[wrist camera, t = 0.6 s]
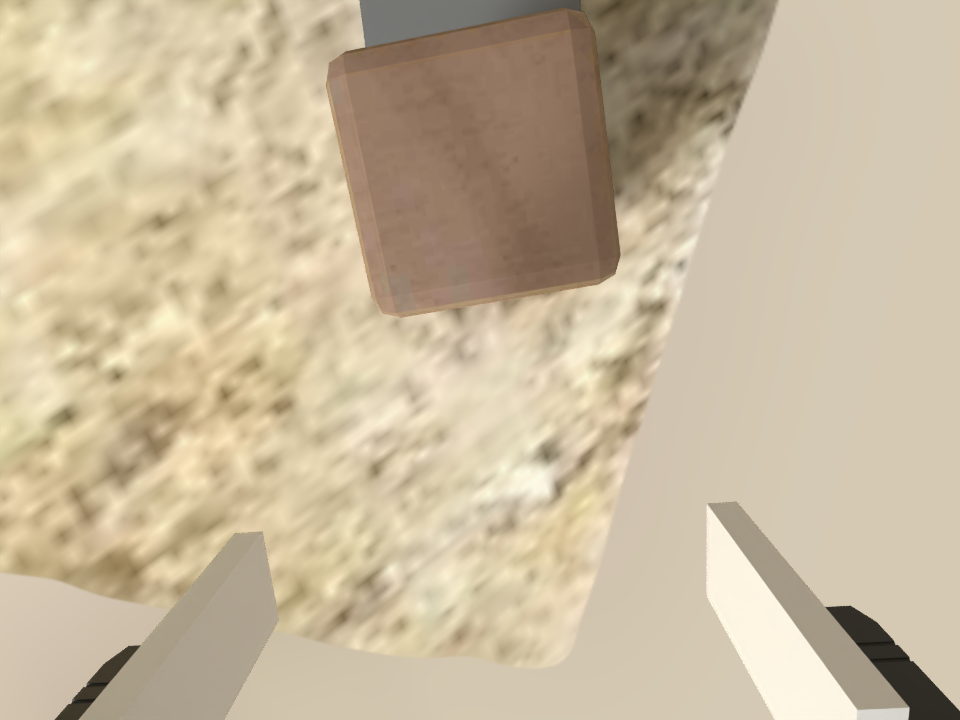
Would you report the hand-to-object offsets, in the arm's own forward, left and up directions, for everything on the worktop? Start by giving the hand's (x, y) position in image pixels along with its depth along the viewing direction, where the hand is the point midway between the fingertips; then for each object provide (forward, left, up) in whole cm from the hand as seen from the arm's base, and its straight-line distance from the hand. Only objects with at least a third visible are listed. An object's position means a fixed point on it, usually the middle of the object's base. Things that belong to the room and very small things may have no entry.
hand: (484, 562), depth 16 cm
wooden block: (-11, 0, -29) cm, 31 cm away
